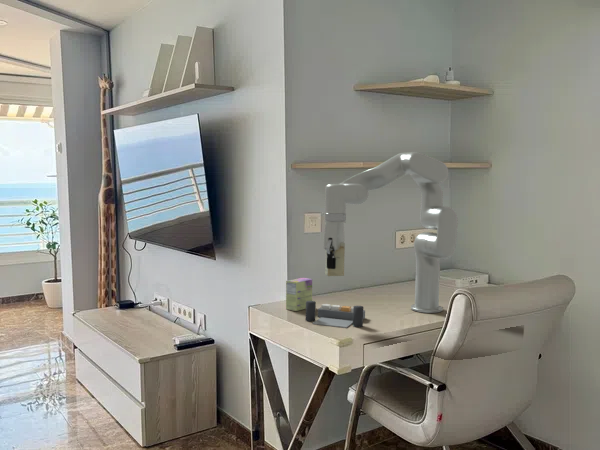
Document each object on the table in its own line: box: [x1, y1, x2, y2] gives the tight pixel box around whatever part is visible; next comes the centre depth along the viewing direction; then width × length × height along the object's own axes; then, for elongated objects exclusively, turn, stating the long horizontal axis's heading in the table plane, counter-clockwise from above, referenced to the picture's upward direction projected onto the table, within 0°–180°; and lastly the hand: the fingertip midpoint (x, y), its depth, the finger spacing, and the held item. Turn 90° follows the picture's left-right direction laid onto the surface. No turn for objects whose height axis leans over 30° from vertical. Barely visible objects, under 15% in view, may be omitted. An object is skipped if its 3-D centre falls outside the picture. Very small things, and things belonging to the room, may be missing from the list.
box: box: [285, 277, 313, 312], centre depth 226 cm, size 10×6×12 cm, turn 141°
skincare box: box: [324, 242, 346, 277], centre depth 202 cm, size 6×4×12 cm
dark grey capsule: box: [352, 305, 364, 328], centre depth 200 cm, size 4×4×7 cm
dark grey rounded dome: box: [305, 300, 317, 323], centre depth 207 cm, size 4×4×7 cm
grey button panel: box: [312, 303, 366, 329], centre depth 207 cm, size 16×17×4 cm
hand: (334, 266), depth 202 cm, fingers closed on skincare box, 6 cm apart
